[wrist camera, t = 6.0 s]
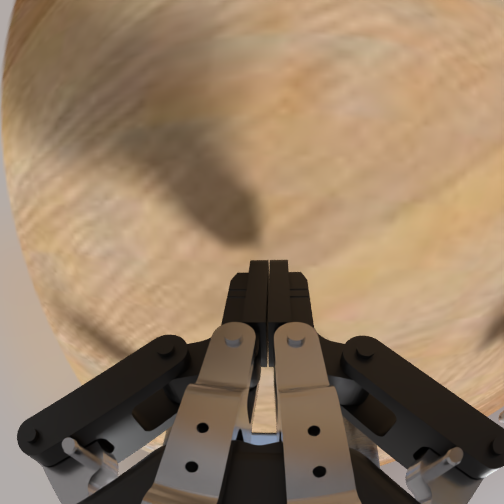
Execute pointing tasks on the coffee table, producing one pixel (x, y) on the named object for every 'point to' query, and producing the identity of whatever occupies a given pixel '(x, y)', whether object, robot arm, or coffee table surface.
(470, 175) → the coffee table surface
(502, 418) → the bull figurine
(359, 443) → the post
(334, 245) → the coffee table surface
